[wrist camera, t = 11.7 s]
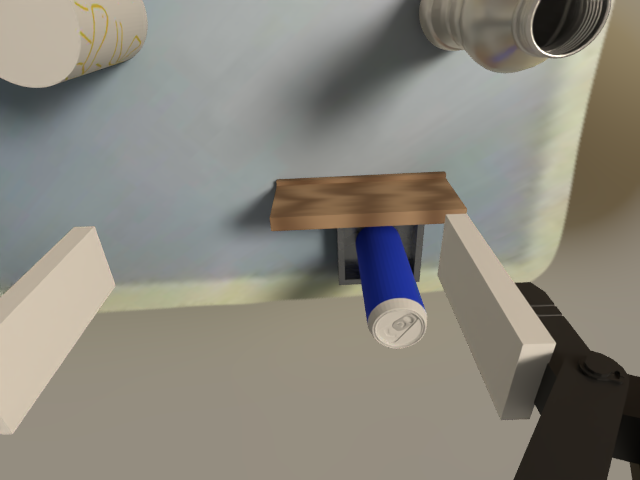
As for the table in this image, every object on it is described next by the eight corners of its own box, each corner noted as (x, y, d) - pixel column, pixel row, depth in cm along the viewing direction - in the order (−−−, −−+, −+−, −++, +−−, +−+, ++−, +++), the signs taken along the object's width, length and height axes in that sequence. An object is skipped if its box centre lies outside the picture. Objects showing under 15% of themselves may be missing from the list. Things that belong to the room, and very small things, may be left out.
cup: (109, 81, 39) (35, 112, 29) (33, 5, 36) (-81, 8, 26) (166, 22, 37) (106, 32, 27) (89, -66, 34) (-12, -94, 23)
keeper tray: (338, 272, 51) (339, 284, 49) (336, 203, 46) (336, 213, 44) (415, 269, 50) (419, 281, 48) (420, 199, 46) (425, 209, 44)
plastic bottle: (504, 6, 36) (671, 14, 19) (441, 64, 39) (539, 117, 21) (462, -59, 34) (610, -116, 17) (397, 7, 36) (469, 16, 19)
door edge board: (279, 199, 46) (272, 235, 39) (276, 179, 44) (269, 212, 38) (442, 192, 45) (464, 227, 38) (444, 171, 44) (467, 203, 37)
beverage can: (377, 265, 50) (398, 359, 37) (345, 241, 48) (356, 331, 35) (408, 237, 48) (442, 326, 35) (377, 211, 46) (400, 295, 33)
